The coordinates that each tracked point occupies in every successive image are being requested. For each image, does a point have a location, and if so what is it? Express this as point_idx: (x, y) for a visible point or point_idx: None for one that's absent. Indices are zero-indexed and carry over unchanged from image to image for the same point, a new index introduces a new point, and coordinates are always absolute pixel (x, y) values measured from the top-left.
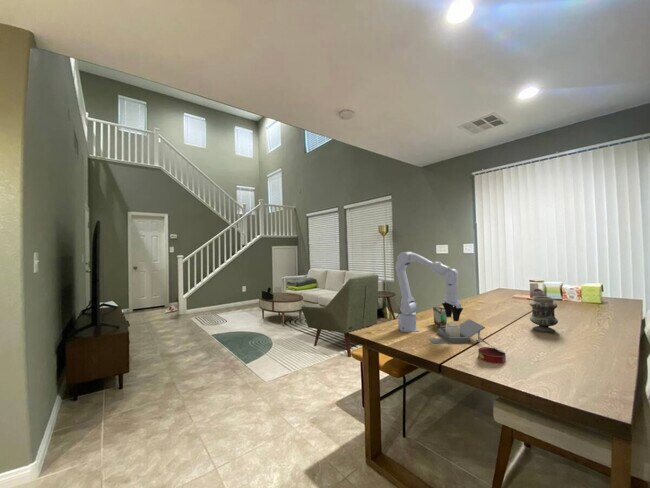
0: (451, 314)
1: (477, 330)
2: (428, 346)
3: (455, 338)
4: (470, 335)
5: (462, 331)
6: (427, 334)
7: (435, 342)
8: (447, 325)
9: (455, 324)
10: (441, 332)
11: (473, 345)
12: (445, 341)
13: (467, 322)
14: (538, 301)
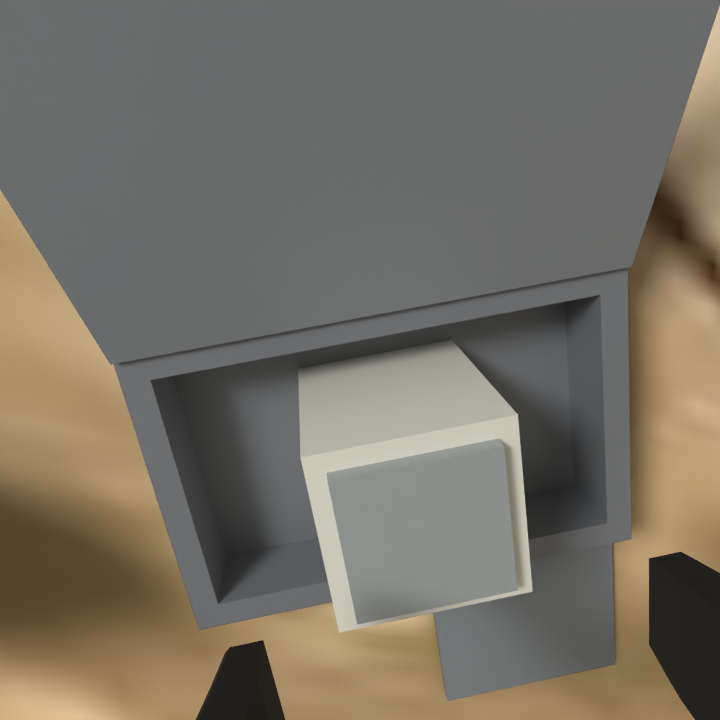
0: (250, 694)
1: (662, 63)
2: (670, 715)
3: (625, 465)
4: (633, 234)
5: (371, 295)
6: None
7: (583, 652)
8: (400, 609)
9: (379, 473)
10: None
11: (688, 222)
12: None
13: (72, 94)
14: None
